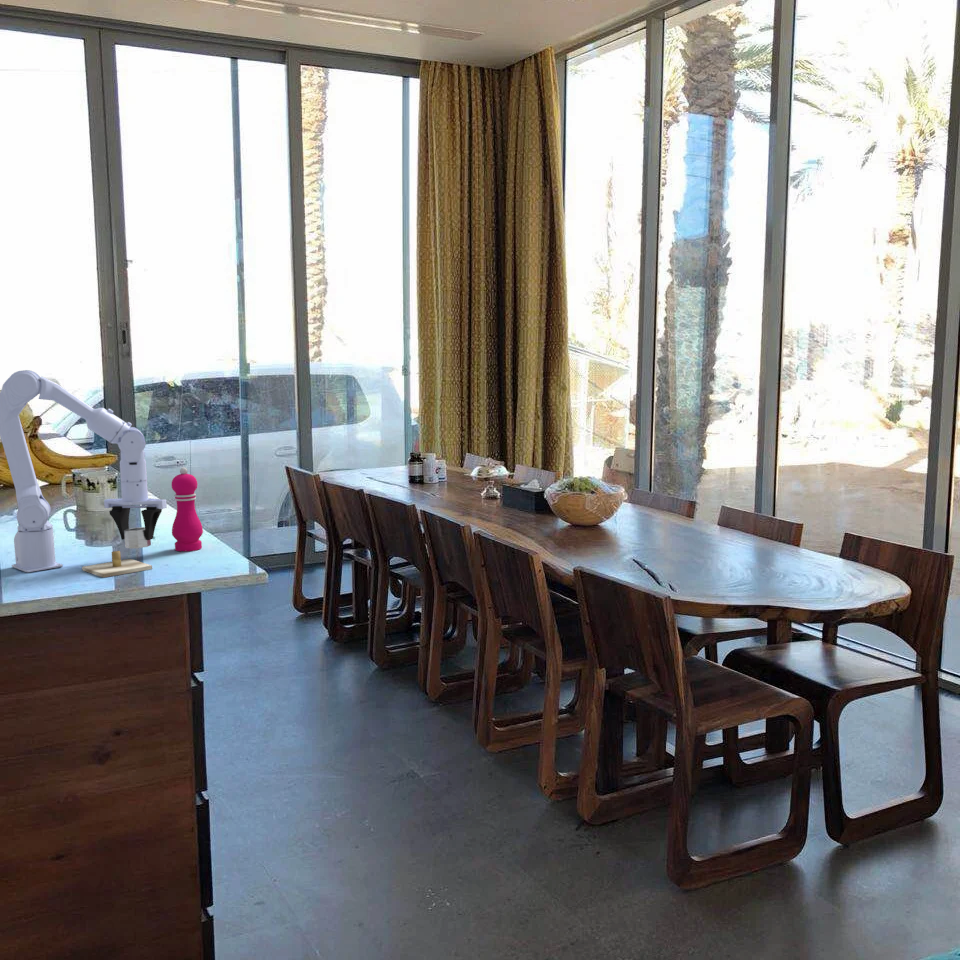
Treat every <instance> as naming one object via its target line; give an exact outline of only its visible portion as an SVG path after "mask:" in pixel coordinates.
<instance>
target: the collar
mask: <svg viewBox="0 0 960 960" xmlns="http://www.w3.org/2000/svg"><path fill="white" fill-rule="evenodd" d="M124 538H125V539H124V546H125V547H124V548H126V549H131V550H132V549H142V548H148V547H150V546H152V541H151V540H152V539H151V540H146V537H145V526H144V527H143V526H142V527H141V526H140V527H139V526H138V527H131V528H129V529H126V530H124Z"/></svg>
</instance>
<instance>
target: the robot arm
mask: <svg viewBox="0 0 960 960" xmlns="http://www.w3.org/2000/svg"><path fill="white" fill-rule="evenodd" d="M37 396H38V400H43V401H45V400H46V401H54V402H56V403H57V404H59V405H61V406H62V407H64V408H65V409H67V410H69V411H70V412H72V413H73V414H75V415H76V416H78V417H80V418H81V419H84V420H85V422H86V427H87V429H88V430H90V431H92V432H93V433H95V434H96V435H98V436H100V437H101V438H102V439H104V440H105V441H107V442H108V443H110V444H116V445H117V446H118V448H119V450H120V460H119V474H120V475H119V476H120V490H121V493H120V494H121V498H107V499H104V500H103V503H104V504H103V505H104V506H103V507H104V509H109V508H111V510H109V515H110V516H111V518H112V519H113V521H114V522H115V525H116V526H117V529H118V533H119V536H120V538H121V540H124V541H125V538H124V530H126V529H130V528H129V527H130V525H129V522H130V521H129V520H130V512H131V509H142V510H141V515H142V518H143V525H144V527H145V537H146V540H153V539H154V535H155V529H156V526H157V523H158V519H159V518H160V515H161V514H162V510H163V509H167V508H168V507H167V499H163V498H161V499H160V498H149V491H148V490H149V489H148V473H147V469H148V468H147V460H146V459H145V458H146V452H145V448H146V446H147V445H146V444H147V441H146V439H145V436H144V434H143V433H142V432H141V430H139V429H138V428H137V427H134V426H132V425H133V424H132V423H131V422H130V421H125V420H123V419H122V418H120V417H118V416H117V415H115V414H114V410H112V409H111V408H108V409H106V408H104V407H99V408H93V407H92V406H91V405H89V404H87V403H86V402H85V401H83V400H82V399H80V398H79V397H77V396H76V395H74V394H73V393H71V392H70V391H69V390H67V389H66V388H65V387H63V386H61V385H60V384H58V383H57V382H55V381H53V380H50V379H49V378H48V377H44V376H40V375H39V374H38V373H37V372H35V371H32V370H28V369H25V370H18V371H15V372H13V373H12V374H11V375H9V377H8V378H7V379H6V380H5V382H3V384H2V386H1V391H0V440H1V444H2V447H3V451H4V454H5V458H6V461H7V465H8V468H9V472H10V475H11V478H12V482H13V485H14V489H15V496H16V502H17V508H18V509H17V512H16V519H17V523H18V524H19V526H18V525H17V531H16V533H15V535H14V537H13V542H14V543H13V544H14V556H15V558H14V559H15V564H11V567H12V568H14V569H17V570H20V571H22V572H25V573H32V572H38V571H45V570H51V569H58V568H61V567H63V566H64V565H63V564H62V563H59V562H57V561H56V553H55V552H56V551H55V549H56V548H55V539H54V538H55V537H54V536H55V535H54V526H53V524H52V523H50V521H49V520H48V519H49V518H50V516H51V512H52V509H51V505H50V503H49V502H48V501H47V500H46V498H45V497H44V495H43V493H42V490H41V487H40V485H39V482H38V479H37V476H36V471H35V469H34V468H35V467H34V465H33V462H32V458H31V454H30V452H29V447H28V444H27V441H26V437H25V432H24V429H23V426H22V423H21V418H20V414H21V413H22V412H23V410H24V408H25V407H26V406H27V404H28V403H29V402H30V401H32V400H33V399H35V398H36V397H37Z"/></svg>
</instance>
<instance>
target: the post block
mask: <svg viewBox="0 0 960 960" xmlns="http://www.w3.org/2000/svg"><path fill="white" fill-rule="evenodd" d="M121 558H122V557H121V551H120V550H115V551H111V560H112V561H108V562H101V563H97V564H96V563H95V564H92V565H85V566H82V567H81V571H83V572H87V573H89V574H92V575H95V576H97V577H101V578H109V577H115V576H120V575H126V574H131V573H132V574H133V573H138V572H142V571H148V570H149V571H150V570H152V569H153V565H151V564H150V563H149V564H148V563H145V562H141V561H139V560H136V559H132V558H127V559H121Z"/></svg>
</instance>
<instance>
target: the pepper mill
mask: <svg viewBox="0 0 960 960" xmlns="http://www.w3.org/2000/svg"><path fill="white" fill-rule="evenodd" d="M179 473H180V474H177V475H175V476H174V477H173V478H172V481H171V489H172V490H173V492H174V493H175V494H174V501H176V514H175V518H174V520H173V523H172V528H171V535H172V537H173V538H174V539H175V540H176V541H175V542H174V549H175V551H177V552H182V551H183V552H195V551H198V550H201V549H202V548H203V546H202V545H203V543H202V540H200V538H201V537H202V535H203V534H204V530H203V525H202V522H201V519H200V518H199V516H198V514H197V511H196V506H195V500H196V499H197V496H196V495H197V494H196V493H195V492H196V490H197V489H198V480H197V478H196V477H195V476H194V475H193V474H190V473H188V469H187V468H186V467H185V466H182V467H181V468H180V469H179Z"/></svg>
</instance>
